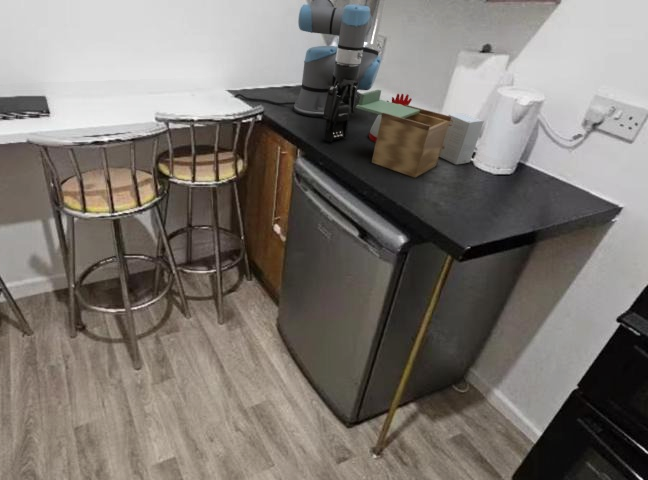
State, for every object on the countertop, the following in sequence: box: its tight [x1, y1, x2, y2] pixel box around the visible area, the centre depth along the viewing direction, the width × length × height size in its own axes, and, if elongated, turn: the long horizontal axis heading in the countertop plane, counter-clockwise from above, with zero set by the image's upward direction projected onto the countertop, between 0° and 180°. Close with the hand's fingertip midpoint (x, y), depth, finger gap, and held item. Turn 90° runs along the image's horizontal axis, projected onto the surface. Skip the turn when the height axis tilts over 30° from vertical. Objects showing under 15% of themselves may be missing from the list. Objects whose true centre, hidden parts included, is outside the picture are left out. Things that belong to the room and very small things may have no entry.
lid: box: [355, 89, 420, 118], centre depth 132 cm, size 14×13×4 cm
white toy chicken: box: [368, 93, 413, 143], centre depth 150 cm, size 14×14×15 cm
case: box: [371, 104, 451, 179], centre depth 131 cm, size 14×14×15 cm
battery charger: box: [323, 101, 350, 141], centre depth 146 cm, size 7×4×11 cm, turn 124°
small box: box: [439, 113, 485, 166], centre depth 138 cm, size 8×6×13 cm
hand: (334, 137), depth 149 cm, fingers closed on battery charger, 7 cm apart
